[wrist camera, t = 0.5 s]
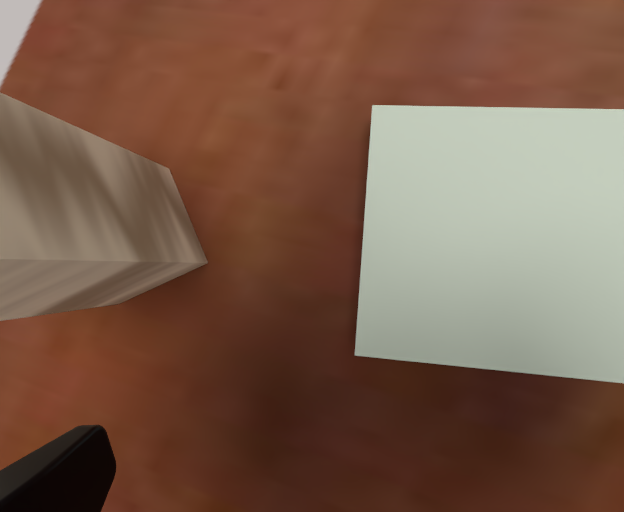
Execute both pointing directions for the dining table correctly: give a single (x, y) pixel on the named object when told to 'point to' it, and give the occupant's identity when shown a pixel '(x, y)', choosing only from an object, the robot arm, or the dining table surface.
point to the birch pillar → (82, 218)
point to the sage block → (495, 240)
